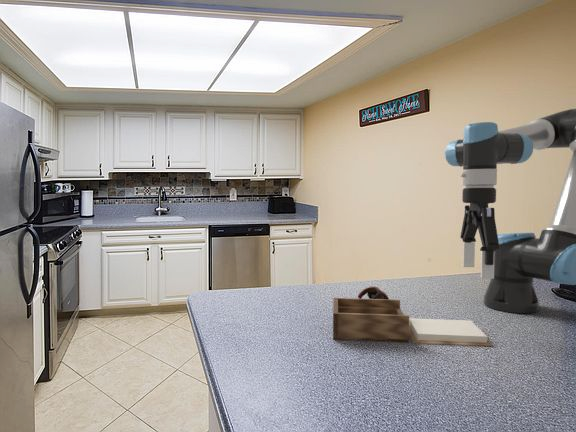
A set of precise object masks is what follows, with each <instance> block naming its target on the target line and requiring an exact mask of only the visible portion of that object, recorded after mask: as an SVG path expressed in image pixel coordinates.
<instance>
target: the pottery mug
mask: <svg viewBox="0 0 576 432" xmlns="http://www.w3.org/2000/svg"><path fill="white" fill-rule="evenodd" d="M366 295H367V297H368V299H390V298H389V297H388V295H387V293H385V292H384V291H383V290H380V288H379V287H377V286H368V287H366V288H363V290H361V291H360V292H359V293H358V296H357V297H358V298H357V299H363V297H364V296H366Z"/></svg>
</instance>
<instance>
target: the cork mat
mask: <svg viewBox="0 0 576 432" xmlns="http://www.w3.org/2000/svg"><path fill="white" fill-rule="evenodd" d="M409 339H411V342H412V343H413V344H424V345H425V344H426V345H445V346H446V345H448V346H450V345H451V346H474V347H493V344H492V343H491V342H490V341H489V340H488V339H487V343H483V342H458V341H433V340H417V338H416V336H415V334H414V332H413V331H412V329H411V327H410V325H409Z"/></svg>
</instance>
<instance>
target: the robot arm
mask: <svg viewBox="0 0 576 432" xmlns="http://www.w3.org/2000/svg"><path fill="white" fill-rule="evenodd" d="M555 148H556V149H557V148H558V149H559V148H560V149H561V148H569V149H570V150H571V152H572V154H571V155H572V156H571V159H570V162H569V164H568V168H567V171H566V175H565V178H564V180H563V184H562V187H561V189H560V192H559V196H558V200H557V203H556V206H555V208H554V212H553V215H552V219H551V222H550V225H549V226H547V227H545V228H543V229H542V230H541V233H540V234H539V238H536V235H535V233H534V232H514V233H513V232H511V233H498V229H497V225H496V217H495V215H496V214H495V208H494V207H489V204H494V203H496V201H497V189H496V187H495V186H496V185H497V183H498V181H497V180H498V179H497V178H498V169H497V168H498V167H497V165H501V164H502V165H503V164H511V165H517V164H524V163H525V162H526V161H528V160H529V159H530V158H531V157H532V155H533V152H534V150H538V151H540V150H545V149H555ZM444 155H445V160H446V162H447V163H448V164H449V165H450V166H452V167H460V168H461V167H462V169H463V171H462V173H461V174H460V178H463V179H462V185H463V186H465V188H463V189H462V202H463V203H465V204H466V205H465V206H464V216H463V219H462V227H461V232H460V239H461V241H462V242H463V243H462V245H463V246H462V248H463V249H462V268H475V262H476V261H475V255H476V254H475V253H476V251H475V249H476V248H475V246H476V242H477V240H476V234H477V231H478V234H479V237H480V243H481V245H482V246H481V247H480V249H479V251H481V252H480V253H481V254H480V255H481V256H480V279H483V280H485V279H486V280H487V279H490V280H489V283H488V286H487V288H486V291H485V293H484V296H483V304H484V305H485V306H486V307H488V308H490V309H493V310H497V311H502V312H508V313H513V314H514V313H515V314H516V313H517V314H533V313H537V312H538V311H539V309H540V307H539V306H540V302H539V299H538V296H537V292H536V289H535V286H534V279H537V280H542V281H548V282H553V283H555V284H558V285H559V284H560V285H562V284H564V285H569V286H571V285H572V286H575V285H576V108H572V109H571V108H569V109H565V110H562V111H558V112H555V113H553V114H549V115H546V116H544V117H543V116H542V117H539V118H536V119H534V120H532V121H530V122H528V124H524V125H521V126H517V127H512V128H511V127H510V128H508V129H504V130H499V126H498V124H497V123H496V122H494V121H493V122H491V121H482V122H473V123H468V124H467V125H466V126H465V127H464V130H463V139H457V140H453V141H450V142H448V144H447V146H446V147H445V150H444ZM467 204H468V205H467Z"/></svg>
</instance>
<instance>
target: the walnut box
mask: <svg viewBox="0 0 576 432" xmlns="http://www.w3.org/2000/svg"><path fill="white" fill-rule="evenodd" d="M332 303H333V305H332V307H333V308H332V312H333V313H332V340H334V341H356V342H357V341H359V342H381V343H383V342H384V343H403V344H404V343H406V344H407V343H408V344H409V342H410V336H409V318H410V315H409V314H404V312H403V311H402V309H401V300H400V299H390V298H389V299H369V298H361V299H358V298H357V297H356V298H354V297H353V298H351V297H350V298H349V297H348V298H347V297H333V302H332Z"/></svg>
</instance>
